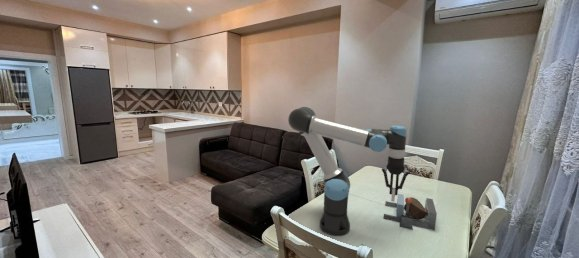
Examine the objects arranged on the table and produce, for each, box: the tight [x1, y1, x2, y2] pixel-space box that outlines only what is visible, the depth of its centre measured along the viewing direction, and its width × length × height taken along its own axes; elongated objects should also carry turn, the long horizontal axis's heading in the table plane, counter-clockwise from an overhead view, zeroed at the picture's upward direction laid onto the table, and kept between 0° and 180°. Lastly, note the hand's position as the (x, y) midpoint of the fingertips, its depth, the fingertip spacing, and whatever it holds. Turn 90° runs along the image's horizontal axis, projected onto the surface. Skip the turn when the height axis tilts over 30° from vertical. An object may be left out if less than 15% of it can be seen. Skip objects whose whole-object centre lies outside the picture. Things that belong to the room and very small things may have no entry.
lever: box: [404, 197, 412, 218], centre depth 119 cm, size 3×3×12 cm
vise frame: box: [382, 197, 438, 231], centre depth 128 cm, size 22×24×9 cm
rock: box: [404, 197, 427, 221], centre depth 128 cm, size 12×10×10 cm
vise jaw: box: [395, 193, 405, 217], centre depth 131 cm, size 14×3×9 cm, turn 155°
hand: (392, 200), depth 122 cm, fingers closed
